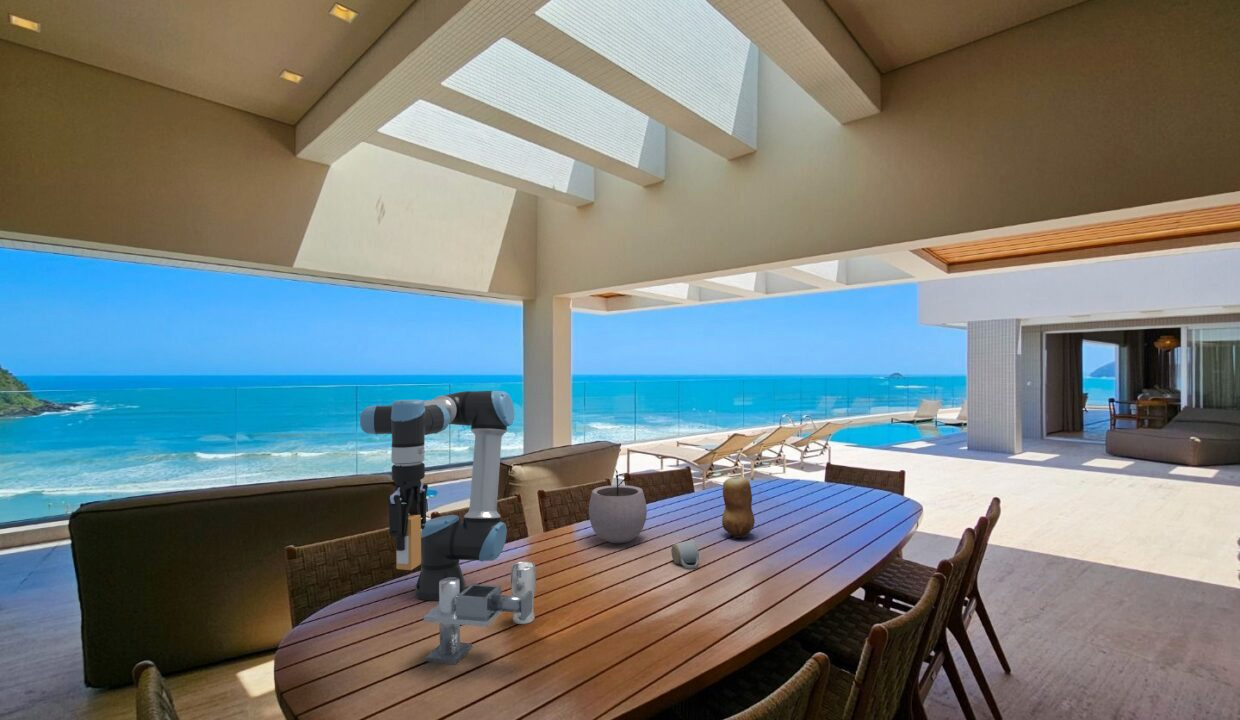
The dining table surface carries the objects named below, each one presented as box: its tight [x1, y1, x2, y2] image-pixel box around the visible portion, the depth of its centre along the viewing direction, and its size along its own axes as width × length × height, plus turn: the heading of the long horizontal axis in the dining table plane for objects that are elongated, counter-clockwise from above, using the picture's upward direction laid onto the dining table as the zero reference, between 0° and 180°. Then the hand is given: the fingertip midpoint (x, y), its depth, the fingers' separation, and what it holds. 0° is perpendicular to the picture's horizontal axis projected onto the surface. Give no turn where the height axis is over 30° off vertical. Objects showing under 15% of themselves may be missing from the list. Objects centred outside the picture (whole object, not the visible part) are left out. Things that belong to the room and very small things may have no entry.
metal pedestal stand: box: [423, 577, 502, 665], centre depth 131 cm, size 16×10×18 cm, turn 78°
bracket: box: [456, 583, 532, 621], centre depth 129 cm, size 17×8×5 cm, turn 78°
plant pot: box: [588, 468, 648, 544], centre depth 219 cm, size 24×24×30 cm
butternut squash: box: [721, 476, 755, 539], centre depth 222 cm, size 14×13×25 cm
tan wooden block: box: [395, 515, 422, 571], centre depth 129 cm, size 4×4×12 cm
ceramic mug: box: [670, 539, 700, 570], centre depth 191 cm, size 11×8×8 cm
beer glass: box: [510, 561, 537, 625], centre depth 150 cm, size 7×7×15 cm
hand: (408, 559), depth 129 cm, fingers closed on tan wooden block, 4 cm apart
